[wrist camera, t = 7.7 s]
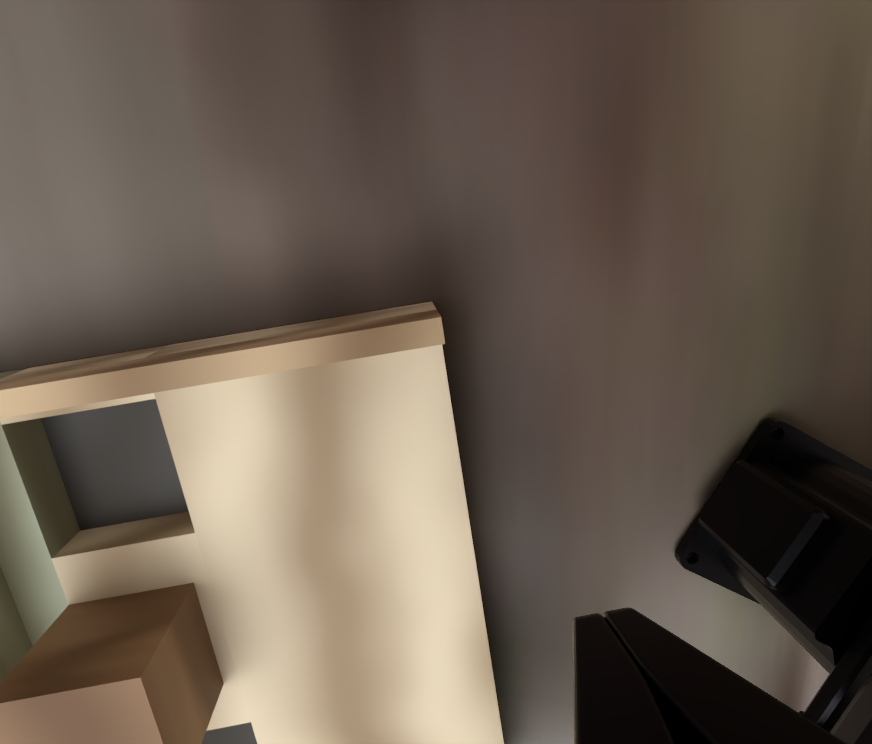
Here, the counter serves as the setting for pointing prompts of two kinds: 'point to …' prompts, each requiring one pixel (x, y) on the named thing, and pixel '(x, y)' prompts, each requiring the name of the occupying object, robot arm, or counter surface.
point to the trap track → (264, 521)
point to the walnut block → (116, 674)
